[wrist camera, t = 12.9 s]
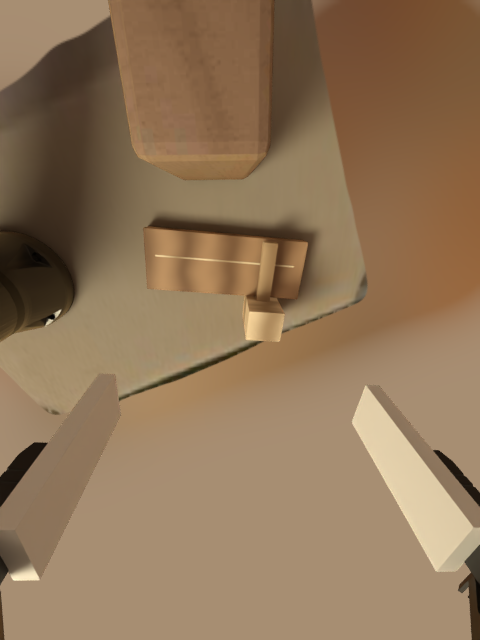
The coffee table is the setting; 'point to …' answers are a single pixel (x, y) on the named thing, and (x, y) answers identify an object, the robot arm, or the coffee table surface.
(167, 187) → the coffee table surface
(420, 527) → the robot arm
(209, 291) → the board
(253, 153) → the wooden block
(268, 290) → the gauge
